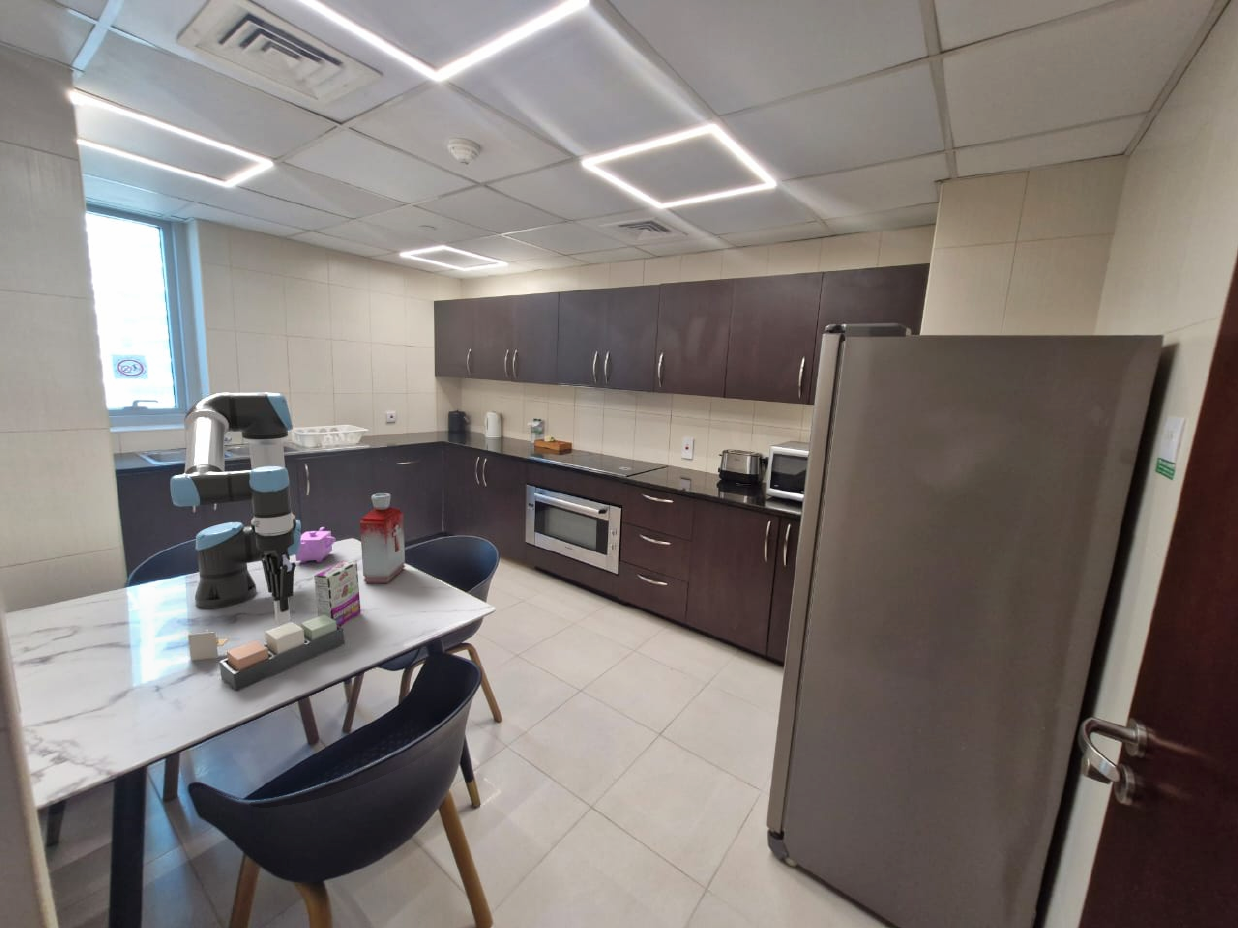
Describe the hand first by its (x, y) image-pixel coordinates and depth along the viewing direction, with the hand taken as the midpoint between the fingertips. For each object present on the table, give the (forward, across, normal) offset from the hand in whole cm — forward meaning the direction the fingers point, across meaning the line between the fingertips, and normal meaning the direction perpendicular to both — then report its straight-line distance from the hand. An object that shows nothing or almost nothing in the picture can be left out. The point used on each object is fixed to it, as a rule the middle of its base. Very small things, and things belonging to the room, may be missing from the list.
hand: (283, 621), depth 121 cm
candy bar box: (+11, -9, +18) cm, 23 cm away
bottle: (+11, -28, +44) cm, 53 cm away
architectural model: (+11, -18, -11) cm, 24 cm away
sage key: (+9, 0, +8) cm, 12 cm away
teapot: (+11, -63, +37) cm, 74 cm away
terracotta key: (+9, 0, -8) cm, 12 cm away
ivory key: (+8, 0, 0) cm, 8 cm away
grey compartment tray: (+11, 0, 0) cm, 11 cm away
